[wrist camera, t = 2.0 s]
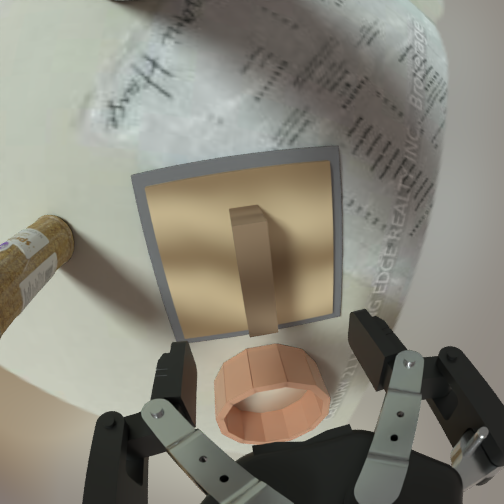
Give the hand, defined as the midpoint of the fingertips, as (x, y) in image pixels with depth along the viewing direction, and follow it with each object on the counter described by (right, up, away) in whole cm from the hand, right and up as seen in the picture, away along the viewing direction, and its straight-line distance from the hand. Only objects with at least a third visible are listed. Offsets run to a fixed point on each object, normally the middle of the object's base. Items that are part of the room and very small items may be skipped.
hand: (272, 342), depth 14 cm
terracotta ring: (+1, -9, +15) cm, 18 cm away
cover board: (-1, +4, +9) cm, 10 cm away
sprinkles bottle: (-17, +5, +7) cm, 20 cm away
